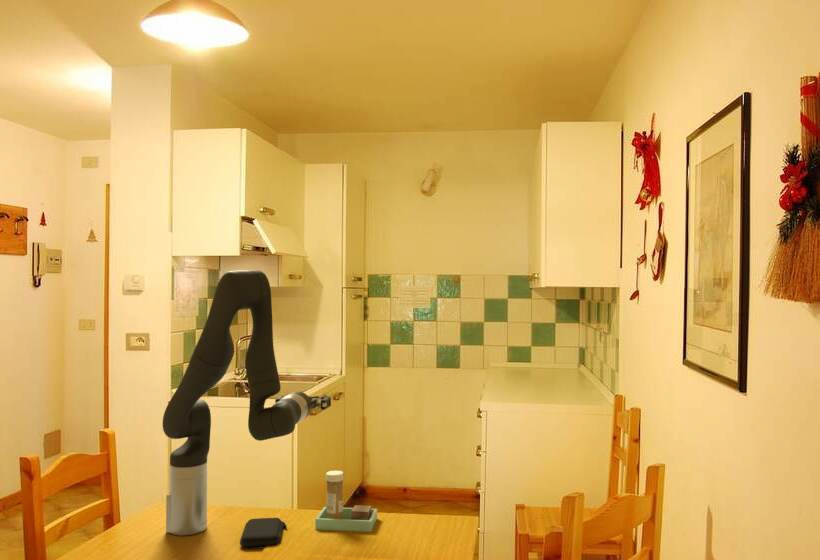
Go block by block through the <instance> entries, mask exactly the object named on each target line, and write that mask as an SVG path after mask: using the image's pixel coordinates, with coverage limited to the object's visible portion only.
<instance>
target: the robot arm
mask: <svg viewBox="0 0 820 560" xmlns="http://www.w3.org/2000/svg"><path fill="white" fill-rule="evenodd" d="M271 292H272V290H271V286H270V280H269V278H268V276H267V275H266V273H264V272H263V271H261V270H258V269H239V270H230V271H226V272H225V273H224V274H223V275H222V276H220V279H219V281H218V283H217V285H216V288H215V291H214V295H213V298H212V300H211V306H210V309H209V312H208V316H207V317H206V318H207V319H206V320H205V324H204V326H203V329H202V332H201V334H200V337H199V338H198V341H197V343H196V345H195V347H194V349H193V352H192V354H191V357H190V360H189V362H188V365H187V367H186V370H185V371H184V374H183V376H182V379H181V381H180V382H179V385H178V386H177V389H175V392H174V393H173V395H172V397H171V398H170V400H169V402H168V404H167V406H166V407H165V411H164V413H163V417H162V429H163V430H162V431H163V432H164V434H165V436H166V437H168V438H169V439H172V440H179V439H185V438H187V439H186V441H185V442H183V444H182V445H180V446H179V447H177V448H176V449H175V450H173V451H172V452H171V453H170V455H169V493H168V494H166V496H165V497H166V502H165V503H166V505H165V510H166V511H165V532H166V533H168V534H169V533H170V534H172V535H175V536H191V535H197V534H200V533H202V532H203V531H205V530H206V529H207V527H208V455H209V452H210V445H211V443H210V442H211V427H212V416H211V414H212V413H211V409H210V407H209V405H208V402H206V401H205V400H203V399H201V397H203V396H204V395H206V393H207V392H210V390H211V389H212V388H213V387H215V385H217V384H218V383H219V382H221V380H222V379H223V378H224V376H225V375H226V373H227V371H228V369H229V367H230V365H231V363H232V360H233V357H234V355H235V344H234V340H233V337H232V334H231V325H232V322H233V320H234V318H235V316H236V314H237V313H238V312H239V311H240V310H241V311H242V310H249V311H250V313H251V317H252V319H251V320H252V329H251V330H252V331H251V336H250V339H249V343H248V346H247V350H246V354H245V360H244V361H245V362H244V363H245V364H244V365H245V373H246V377H247V384H248V389H249V407H248V408H249V410H248V420H247V426H248V427H247V428H248V431H249V434H250V436H251V437H252V438H254V440H256V441H266V440H269V439H270V440H271V439H275V438H280V437H284V436H288V435H289V434H292V433H293V432H294V431H295V429H296V425H297V424H299V423H301V422H302V421H303V420H305V419H306V418H308V417H309V415H310V414H311V412H312V411H314V410H318V409H320V410H322V411H325V410H327V409H328V408H330V407H331V406H332V397H331V396H329V395H327V394H322V395H321V396H319V395H310V396H309V395H308V394H306V393H305V392H303V391H293V392H291V393H289V394H287V395H286V396H285V395H279V396H278V397H276V398H275V400H274V401H275V402H274V404H272V406H269V407H265V404H266V401H267V400H268V399H269V398H271V397H273V396H275V395H277V394H279V393H280V391H281V380H280V376H279V372H278V371H279V370H278V365H277V361H276V356H275V348H274V347H275V346H274V334H273V333H274V330H273V308H272V307H273V305H272V293H271Z"/></svg>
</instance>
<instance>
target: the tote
mask: <svg viewBox="0 0 820 560" xmlns="http://www.w3.org/2000/svg"><path fill="white" fill-rule="evenodd" d="M352 509H353V507H343V519H327V506H323V508H322V509H321V510H320V512H319V513H318V514H317V516H316V517H315V519H314V520H315V523H314V524H315V526H314V529H315V530H319V531H320V530H323V531H342V532H344V531H345V532H362V533H363V532H364V533H365V532H367V533H371V532H372V531H373V529H374V526H375V524H376V523H377V520H378V508H371V517H370V519H369V520H351V511H352Z"/></svg>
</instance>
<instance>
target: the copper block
mask: <svg viewBox="0 0 820 560" xmlns="http://www.w3.org/2000/svg"><path fill="white" fill-rule="evenodd" d="M352 508H353V509H352V511H351V520H369V519H370V517H371V509H372V505H356V504H355V505H354V506H353V507H352Z"/></svg>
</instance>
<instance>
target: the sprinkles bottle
mask: <svg viewBox="0 0 820 560" xmlns="http://www.w3.org/2000/svg"><path fill="white" fill-rule="evenodd" d="M325 480H326V507H327V519H343V508H344V491H343V490H344V486H343V484H344V471H341V470H329V471H327V472H326V474H325Z"/></svg>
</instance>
